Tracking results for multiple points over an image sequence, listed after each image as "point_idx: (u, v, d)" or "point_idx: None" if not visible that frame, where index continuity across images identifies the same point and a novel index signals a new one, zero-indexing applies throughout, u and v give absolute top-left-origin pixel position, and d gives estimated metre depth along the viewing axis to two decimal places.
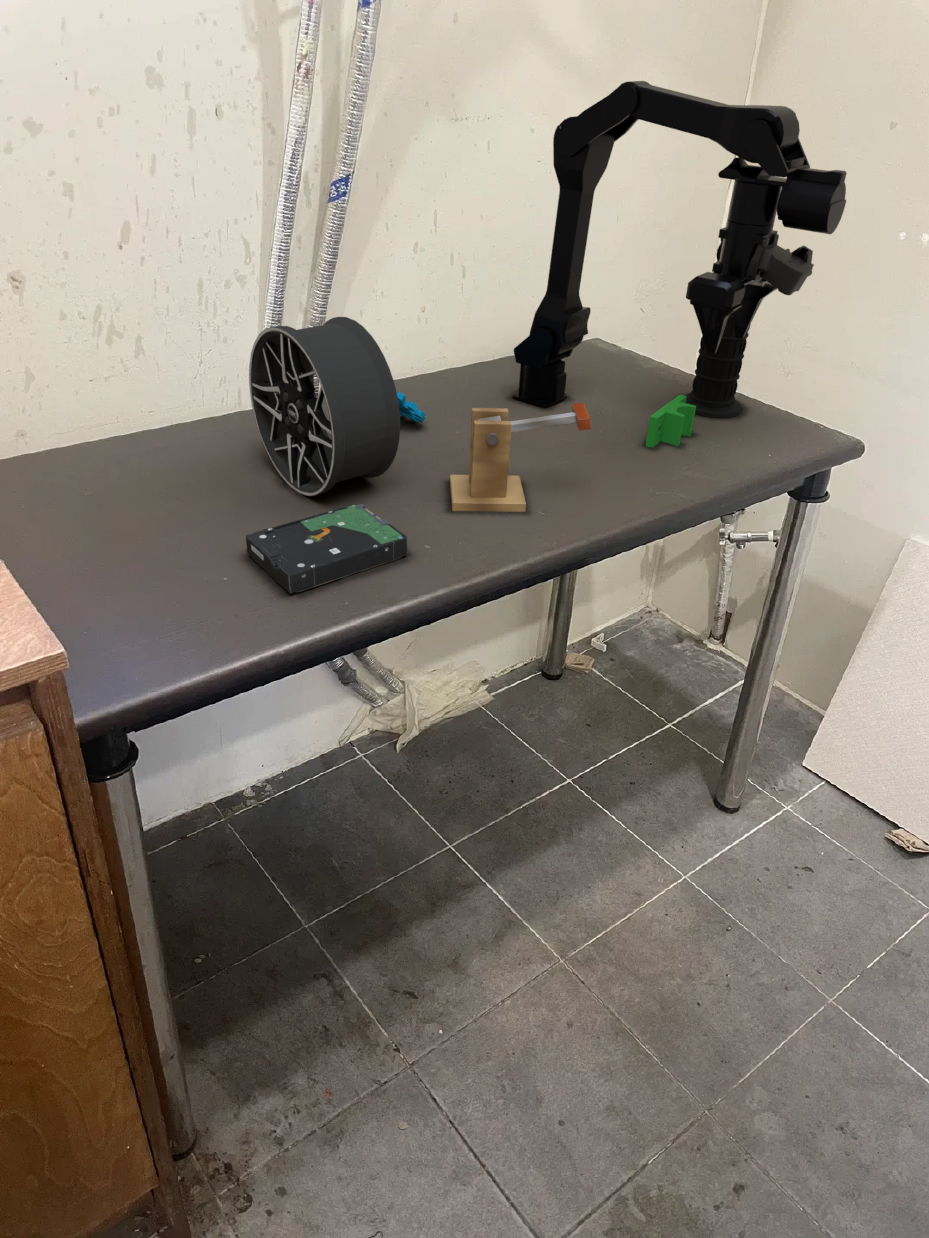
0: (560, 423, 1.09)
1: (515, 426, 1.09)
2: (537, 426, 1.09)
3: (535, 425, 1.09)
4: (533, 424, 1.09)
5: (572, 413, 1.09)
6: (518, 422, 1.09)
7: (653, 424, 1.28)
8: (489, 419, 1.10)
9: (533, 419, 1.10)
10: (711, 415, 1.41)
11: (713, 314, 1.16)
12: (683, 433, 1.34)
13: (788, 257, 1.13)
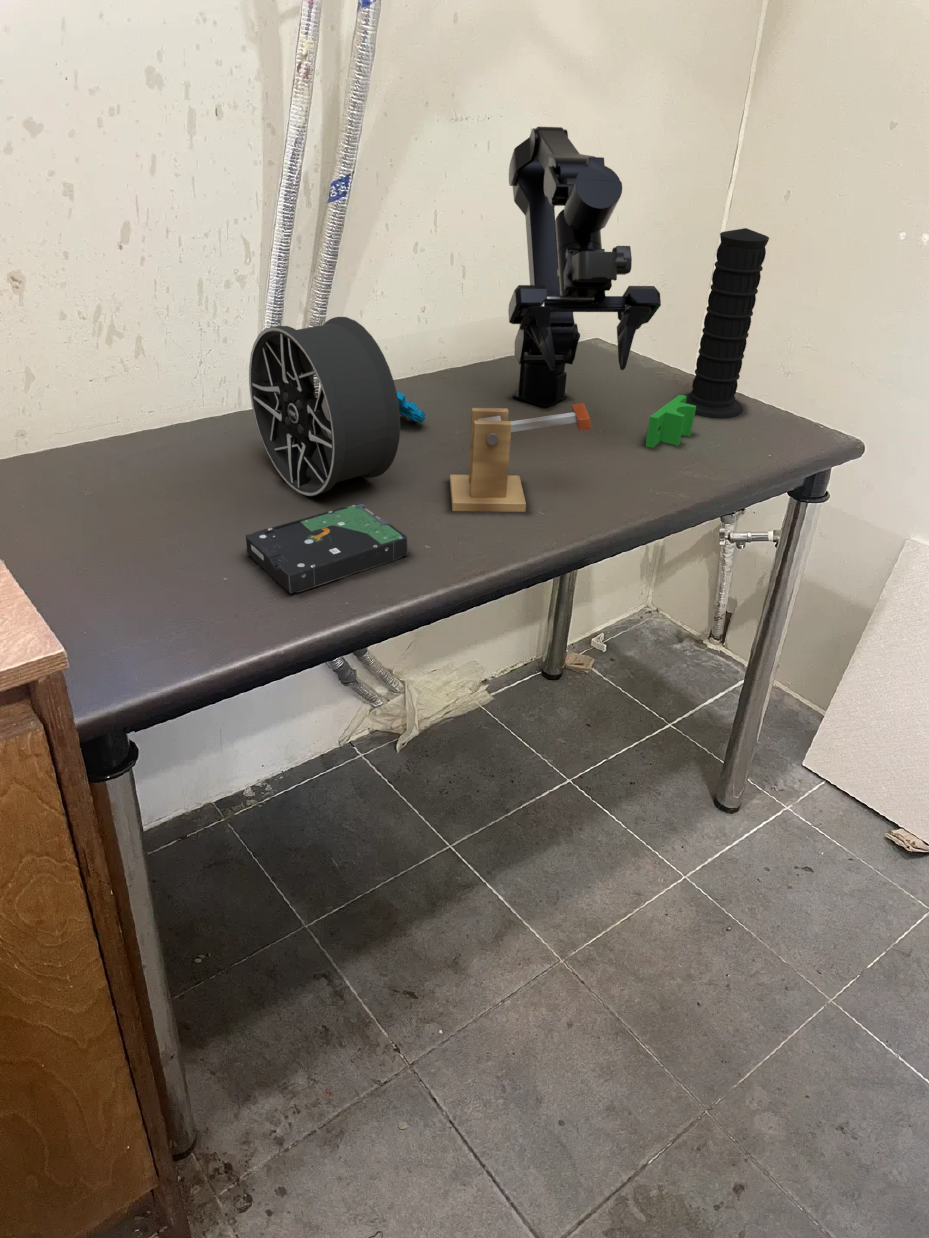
0: (560, 423, 1.09)
1: (515, 426, 1.09)
2: (537, 426, 1.09)
3: (535, 425, 1.09)
4: (533, 424, 1.09)
5: (572, 413, 1.09)
6: (518, 422, 1.09)
7: (653, 424, 1.28)
8: (489, 419, 1.10)
9: (533, 419, 1.10)
10: (711, 415, 1.41)
11: None
12: (683, 433, 1.34)
13: None
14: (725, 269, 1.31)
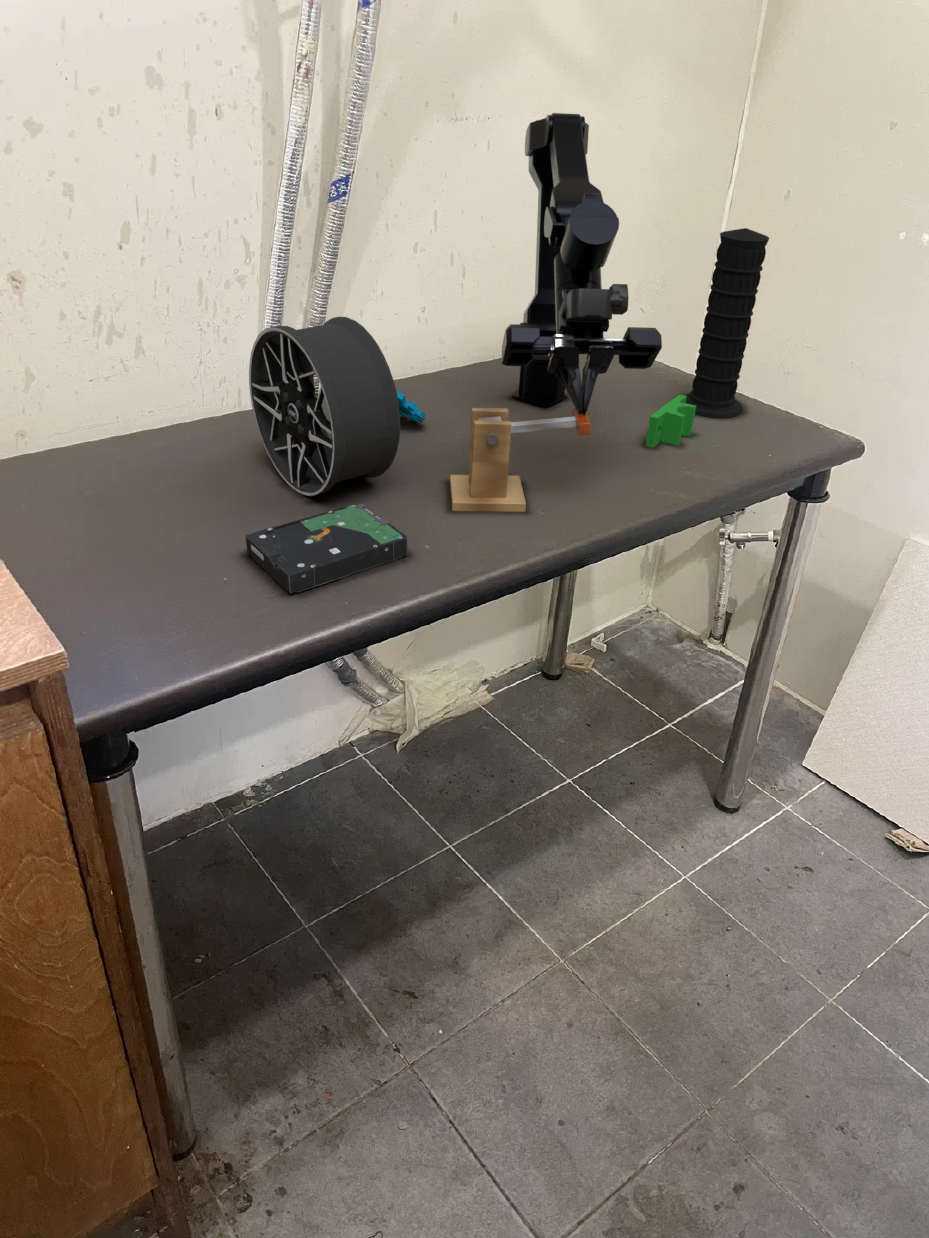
0: (560, 427, 1.10)
1: (515, 427, 1.09)
2: (537, 428, 1.10)
3: (535, 427, 1.09)
4: (534, 427, 1.09)
5: (572, 417, 1.10)
6: (519, 424, 1.09)
7: (653, 424, 1.28)
8: (490, 419, 1.10)
9: (533, 421, 1.10)
10: (711, 415, 1.41)
11: None
12: (683, 433, 1.34)
13: None
14: (725, 269, 1.31)
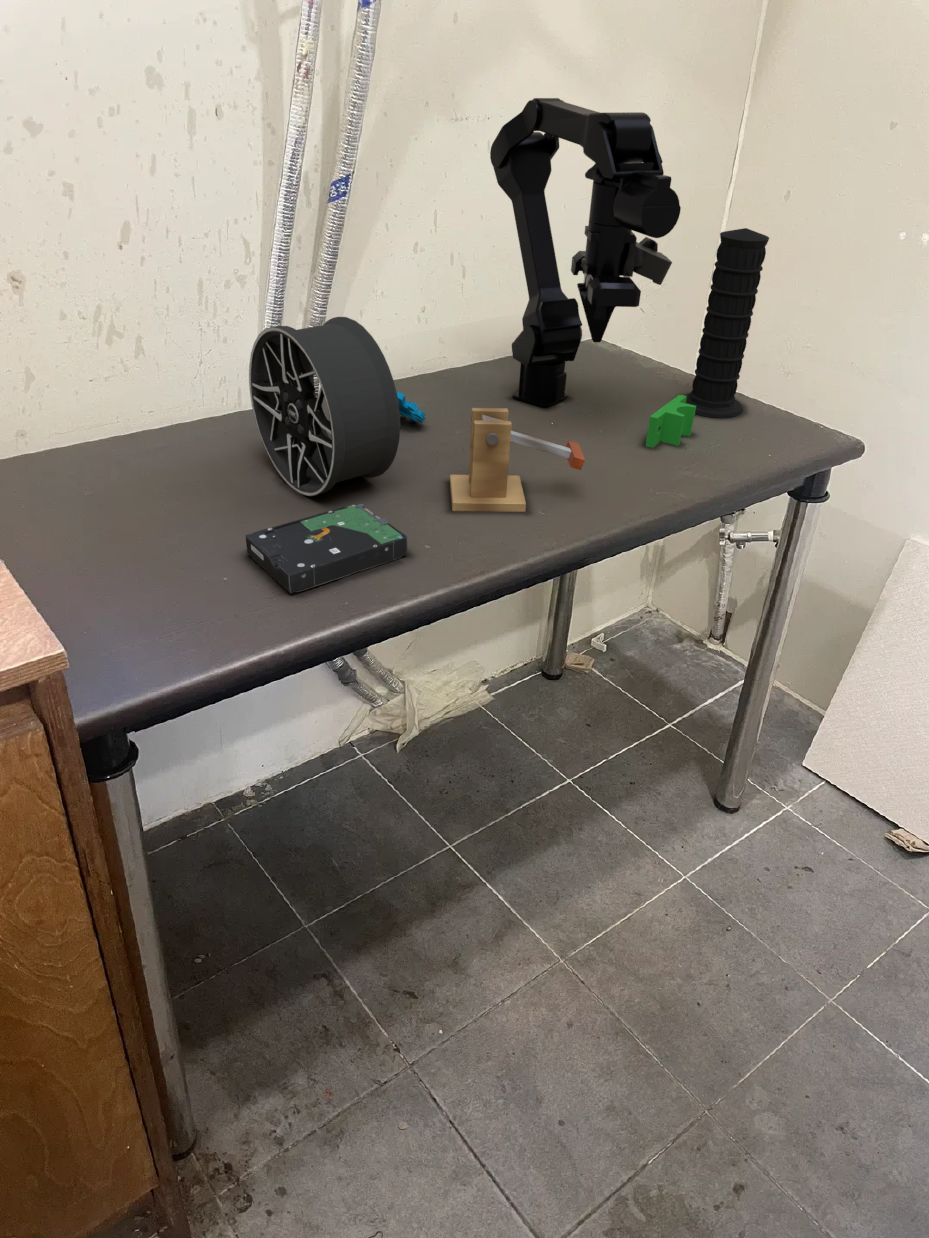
0: (554, 452, 1.11)
1: (514, 437, 1.10)
2: (533, 446, 1.11)
3: (532, 444, 1.11)
4: (531, 443, 1.11)
5: (568, 448, 1.12)
6: (519, 435, 1.10)
7: (653, 424, 1.28)
8: (494, 419, 1.10)
9: (532, 438, 1.11)
10: (711, 415, 1.41)
11: (600, 305, 1.23)
12: (683, 433, 1.34)
13: (649, 250, 1.21)
14: (725, 269, 1.31)
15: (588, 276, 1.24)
